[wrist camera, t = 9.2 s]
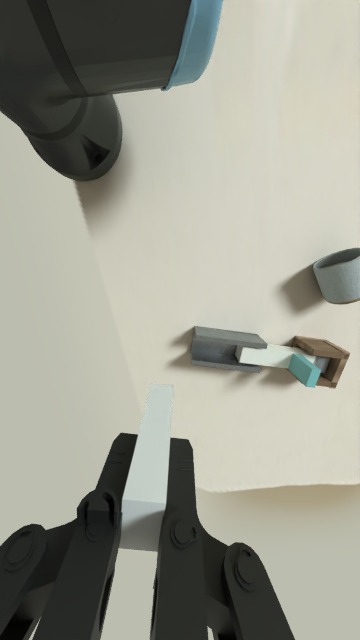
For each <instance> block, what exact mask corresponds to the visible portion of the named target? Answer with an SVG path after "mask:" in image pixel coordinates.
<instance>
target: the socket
mask: <svg viewBox="0 0 360 640" xmlns="http://www.w3.org/2000/svg"><path fill="white" fill-rule="evenodd" d="M292 347H295V348H303V349H305V350H306V351H307V352H309V353H310V354H312V355H316V356H323V357H329V358H330V361H329V363H328V366H327V368H326V371H325V373H320V375H319V378H318V380H317V383H316V385H317V386H326V387H329V388H334V389H335V388H336V385H337V383H338V381H339V378H340V376H341V374H342V371H343V369H344V367H345V364H346V362H347V360H348V357H349V355H350V353H349V352H347V351H346V350H344V349H342V348H340V347H338V346H336V345H334V344H333V343H331V342H329V341H327V340H323V339H315V338H308V337H300V336H295V339H294V342H293V345H292ZM286 369H287V368H286ZM288 370H289V369H288ZM289 371H290V370H289ZM290 372H291V371H290ZM291 373H292V372H291ZM292 374H293V373H292ZM293 375H294V374H293ZM294 376H295V375H294ZM295 377H296V376H295ZM296 378H297V377H296ZM297 379H298V378H297ZM298 380H299V379H298ZM299 381H300V380H299ZM300 382H301V381H300ZM301 383H302V382H301ZM302 384H303V383H302Z"/></svg>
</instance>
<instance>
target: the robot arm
mask: <svg viewBox="0 0 360 640" xmlns="http://www.w3.org/2000/svg"><path fill="white" fill-rule="evenodd" d="M222 3H223V0H0V111H1V112H2V113H3V114H5V115H6V116H7V117H8V118H9V119H11V120H12V121H13V122H14V123H16V124H17V125H18V126H19V127H20V128H21V129H22V131H23V132H24V134H25V135H26V136H27V137H28V139H29V141H30V143H31V144H32V146H33V148H34V149H35V151H36V152H37V153H38V155H39V156H40V157H41V158H42V159H43V160H44V161H45V162H46V163H47V164H48V165H49V166H50V167H52V168H53V169H55V170H56V171H58V172H59V173H60V174H62V175H63V176H65V177H68V178H70V179H73V180H77V181H89V180H94V179H97V178H99V177H101V176H102V175H104V174H105V173H106V172H107V171H108V170H109V169H110V168H111V167H112V166H113V164H114V163H115V161H116V159H117V157H118V155H119V152H120V148H121V143H122V123H121V118H120V114H119V110H118V107H117V105H116V103H115V100H114V98H113V95H112V94H120V93H127V92H135V91H143V90H151V89H159V88H161V90H162V91H167V90H169V89H170V88H171V87H173V86H179V85H184V84H189V83H193V82H195V81H196V80H198V79H199V77H200V76H201V75H202V73H203V72H204V70H205V69H206V67H207V65H208V62H209V60H210V57H211V54H212V50H213V47H214V43H215V39H216V34H217V30H218V25H219V20H220V14H221V9H222ZM173 387H174V386H173V385H164V384H156V383H151V386H150V390H149V394H148V398H147V402H146V406H145V410H144V414H143V418H142V422H141V426H140V430H139V434H138V435H137V434H128V433H120V434H119V435H118V437H117V438H116V439H115V440H114V441H113V444H112V447H111V449H110V452H109V455H108V457H107V460H106V463H105V465H104V468H103V470H102V473H101V475H100V479H99V481H98V484H97V486H96V489H95V490H93V491H91V492H89V494H87V495H86V496H85V497H84V498H83V499H82V501H81V502H80V504H79V506H78V507H77V518H76V519H75V520H73V521H72V522H69V523H67V524H65V525H61V526H59V527H55V528H52V529H49V530H45V529H44V528H43V527H42V526H41V525H38V524H30V525H27V526H24V527H22V528H20V529H19V530H17V531H16V532H14V533H13V534H12V535H11V536H10V537H9V538H8V539H7V540H6V541H5V542H4V543H3V544H2V545H1V546H0V640H29V638H30V636H31V634H32V632H33V631H34V629H35V627H36V625H37V623H38V621H39V619H40V618H41V619H40V621H39V624H38V627H37V629H36V632H35V634H34V637H33V639H32V640H100V638H101V633H102V629H103V623H104V619H105V615H106V610H107V605H108V600H109V596H110V591H111V587H112V582H113V577H114V571H115V562H116V557H117V553H118V548H124V549H134V550H145V551H157V552H158V557H157V568H156V575H155V580H154V587H153V589H154V595H153V607H152V619H151V630H150V640H208V630H207V626H208V627H209V628H211V629H212V632H213V637H214V640H295V639H294V636H293V634H292V632H291V629H290V627H289V624H288V622H287V620H286V617H285V615H284V613H283V610H282V608H281V605H280V603H279V601H278V598H277V596H276V593H275V592H274V589H273V586H272V584H271V582H270V579H269V577H268V575H267V572H266V570H265V568H264V565H263V563H262V562H261V560H260V558H259V556H258V555H257V554H256V553H255V552H254V550H253V549H252V548H251V547H249V546H248V545H246V544H244V543H237V542H236V543H233V544H232V545H230V546H227V545H226V544H224V543H222V542H220V541H219V540H217V539H215V538H213V537H212V536H210V535H209V534H208V533H207V532H206V531H205V529H204V528H203V526H202V525H201V523H200V521H199V518H198V515H197V509H196V496H195V478H194V462H193V449H192V446H191V444H190V442H189V440H187V439H178V438H170V435H171V419H172V403H173Z"/></svg>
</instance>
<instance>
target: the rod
mask: <svg viewBox="0 0 360 640" xmlns="http://www.w3.org/2000/svg"><path fill="white" fill-rule="evenodd" d="M235 356H236V357H237V359H238V361H239V362H240V363H248V364H256V365H264V366H271V367H279V368H287V369H289V370H290V371H291V372H292V373H293V374H294V375H295V376H296V377H297V378H298V379H299V380H300V381H301V382H302V383H303V384H304V385H305V386H306V387H314V388H315V385H316V383H317V380H318V378H319V375H320V373H325V371H326V368H327V366H328V363H329V361H330V358H329V357H323V356H316V355H312V354H310V353H309V352H307V351H306V350H305V349H303V348H295V347H287V346H280V345H272V344H268V345H267V349H262V348H254V347H246V346H239V345H237V348H236V352H235Z"/></svg>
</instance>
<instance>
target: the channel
mask: <svg viewBox="0 0 360 640" xmlns="http://www.w3.org/2000/svg"><path fill="white" fill-rule="evenodd" d="M237 345H239V346H246V347H254V348H262V349H267V345H268V344H267V343H266V342H265V341H264V340H263V339H262V338H261V337H259V336H258V335H257V334H251V333H244V332H236V331H228V330H221V329H213V328H206V327H198V326H195V328H194V334H193V340H192V346H191V352H190V353H191V363H192V365H199V366H207V367H215V368H223V369H231V370H239V371H247V372H255V373H260V370H261V368H260V367H259V366H258V365H256V364H248V363H240V362H239V361H238V359H237V357H236V356H235V352H236V348H237Z"/></svg>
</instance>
